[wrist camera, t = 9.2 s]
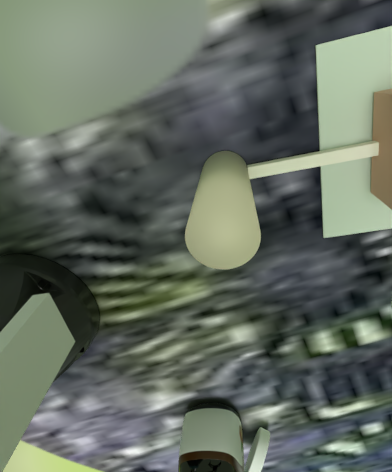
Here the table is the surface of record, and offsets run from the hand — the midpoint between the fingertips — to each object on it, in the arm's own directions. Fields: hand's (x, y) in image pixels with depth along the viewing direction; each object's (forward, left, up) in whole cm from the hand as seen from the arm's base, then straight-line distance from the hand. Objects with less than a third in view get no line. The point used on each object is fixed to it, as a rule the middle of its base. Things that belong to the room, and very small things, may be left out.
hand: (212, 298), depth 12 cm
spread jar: (-6, -36, -18) cm, 41 cm away
